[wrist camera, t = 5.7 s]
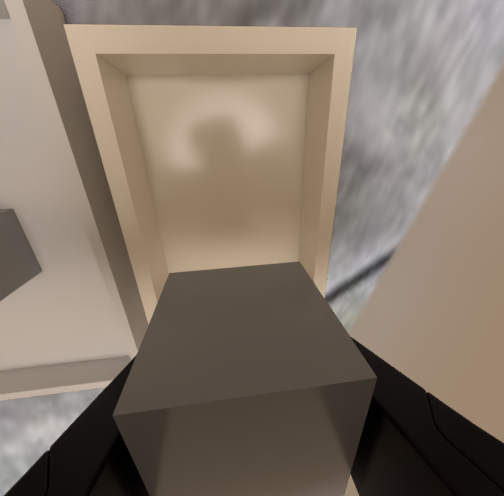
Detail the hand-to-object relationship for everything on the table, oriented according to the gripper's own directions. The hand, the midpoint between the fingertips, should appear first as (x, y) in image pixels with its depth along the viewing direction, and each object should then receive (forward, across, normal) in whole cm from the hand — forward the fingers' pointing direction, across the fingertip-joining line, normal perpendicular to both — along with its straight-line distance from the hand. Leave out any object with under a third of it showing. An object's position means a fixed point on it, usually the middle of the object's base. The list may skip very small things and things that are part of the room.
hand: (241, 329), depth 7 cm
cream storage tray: (+9, 0, -3) cm, 10 cm away
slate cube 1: (0, 0, 0) cm, 0 cm away
